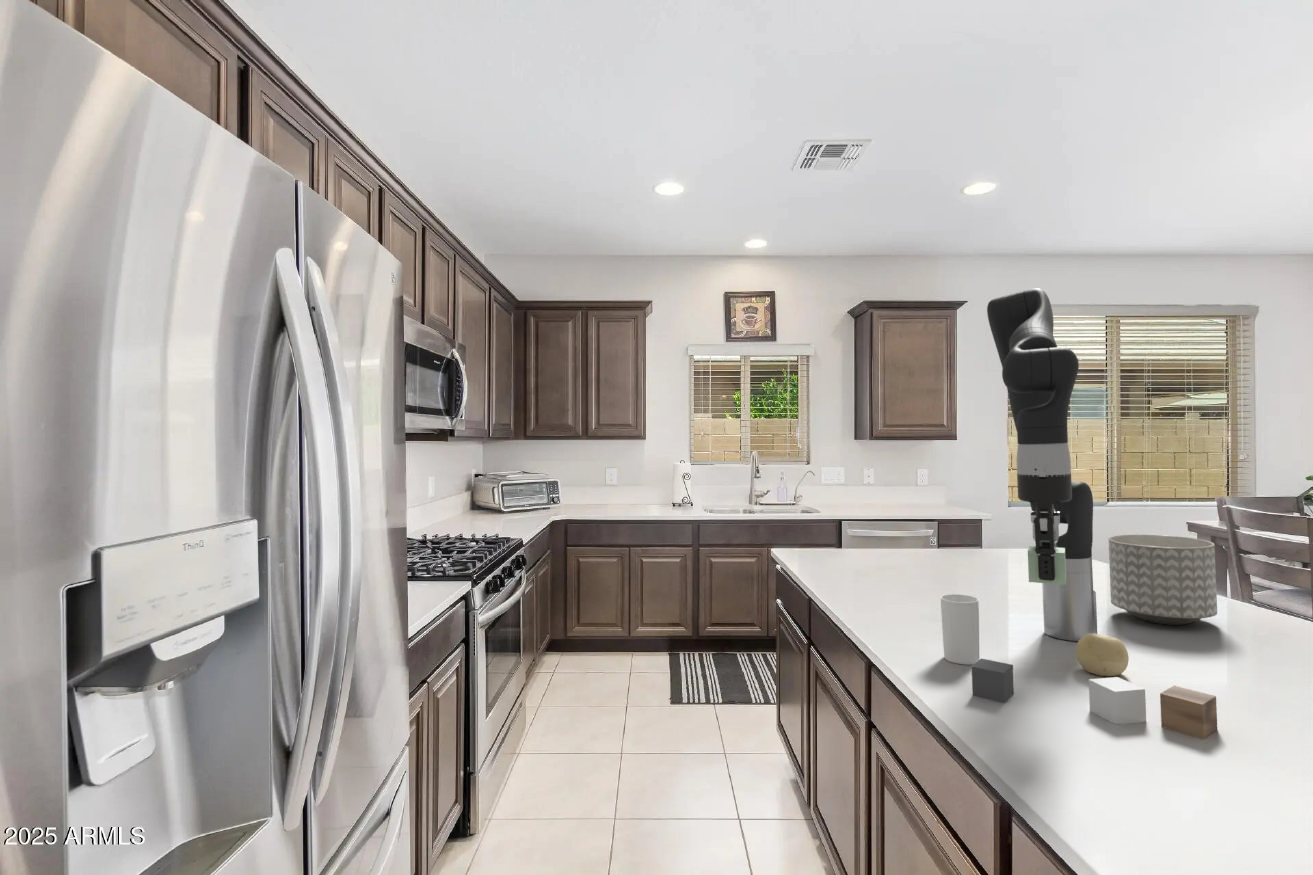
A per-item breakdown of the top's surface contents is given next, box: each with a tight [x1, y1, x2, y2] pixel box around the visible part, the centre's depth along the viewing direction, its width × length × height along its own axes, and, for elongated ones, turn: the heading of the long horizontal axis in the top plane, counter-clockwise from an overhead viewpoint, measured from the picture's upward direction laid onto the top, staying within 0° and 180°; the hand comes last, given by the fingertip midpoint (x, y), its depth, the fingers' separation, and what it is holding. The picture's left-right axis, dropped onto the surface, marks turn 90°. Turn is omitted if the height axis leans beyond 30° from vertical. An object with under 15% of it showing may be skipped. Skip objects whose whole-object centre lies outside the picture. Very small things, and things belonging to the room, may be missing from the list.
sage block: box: [1027, 545, 1066, 585], centre depth 103 cm, size 5×5×5 cm
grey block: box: [1088, 676, 1147, 725], centre depth 98 cm, size 5×5×5 cm
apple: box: [1075, 633, 1129, 677], centre depth 115 cm, size 8×8×8 cm
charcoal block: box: [971, 658, 1015, 704], centre depth 107 cm, size 5×5×5 cm
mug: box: [940, 593, 980, 666], centre depth 125 cm, size 10×7×12 cm, turn 137°
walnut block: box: [1159, 685, 1218, 740], centre depth 93 cm, size 5×5×5 cm
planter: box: [1107, 534, 1218, 626], centre depth 145 cm, size 19×19×18 cm
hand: (1047, 575), depth 103 cm, fingers closed on sage block, 5 cm apart
